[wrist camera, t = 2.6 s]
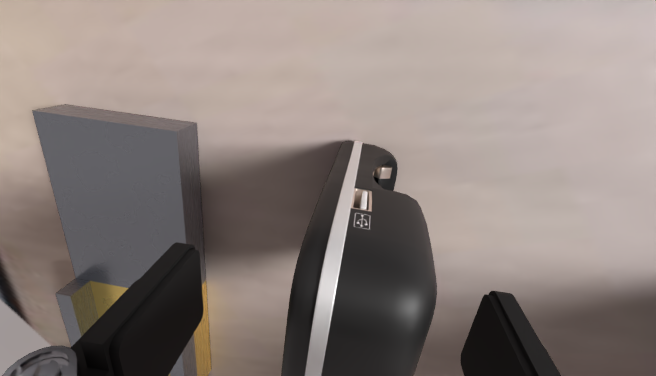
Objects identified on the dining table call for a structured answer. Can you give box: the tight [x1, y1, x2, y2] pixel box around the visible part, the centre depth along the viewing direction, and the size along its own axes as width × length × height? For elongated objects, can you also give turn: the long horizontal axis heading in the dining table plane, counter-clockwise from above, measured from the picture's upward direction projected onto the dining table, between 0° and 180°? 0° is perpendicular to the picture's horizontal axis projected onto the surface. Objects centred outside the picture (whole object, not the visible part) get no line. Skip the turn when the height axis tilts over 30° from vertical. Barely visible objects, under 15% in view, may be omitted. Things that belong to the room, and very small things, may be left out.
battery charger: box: [281, 141, 437, 376], centre depth 13 cm, size 7×4×11 cm, turn 172°
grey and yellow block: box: [32, 104, 211, 376], centre depth 20 cm, size 8×20×5 cm, turn 174°
